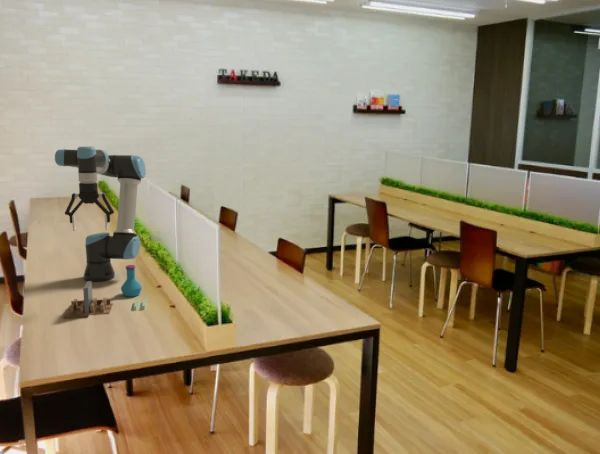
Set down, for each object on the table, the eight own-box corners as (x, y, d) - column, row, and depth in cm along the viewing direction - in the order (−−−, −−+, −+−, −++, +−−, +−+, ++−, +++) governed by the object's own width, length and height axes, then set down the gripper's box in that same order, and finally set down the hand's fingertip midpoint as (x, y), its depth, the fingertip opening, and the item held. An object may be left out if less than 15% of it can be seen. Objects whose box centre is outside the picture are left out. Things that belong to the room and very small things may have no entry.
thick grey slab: (88, 305, 240) (87, 281, 238) (92, 305, 241) (91, 281, 239) (84, 313, 231) (83, 288, 229) (89, 313, 231) (87, 288, 229)
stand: (134, 304, 246) (133, 299, 246) (148, 303, 248) (147, 298, 247) (132, 312, 236) (131, 307, 235) (146, 312, 237) (146, 306, 237)
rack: (69, 308, 240) (69, 298, 239) (112, 305, 244) (112, 296, 243) (63, 318, 228) (62, 308, 227) (109, 316, 232) (108, 306, 231)
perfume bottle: (120, 300, 251) (119, 268, 249) (121, 294, 260) (120, 263, 257) (141, 299, 254) (140, 267, 251) (142, 293, 263) (140, 262, 260)
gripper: (55, 183, 234) (58, 232, 238) (117, 183, 240) (119, 231, 244) (59, 181, 242) (62, 229, 246) (118, 181, 247) (120, 227, 251)
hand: (90, 230), depth 245 cm, fingers open, 13 cm apart
